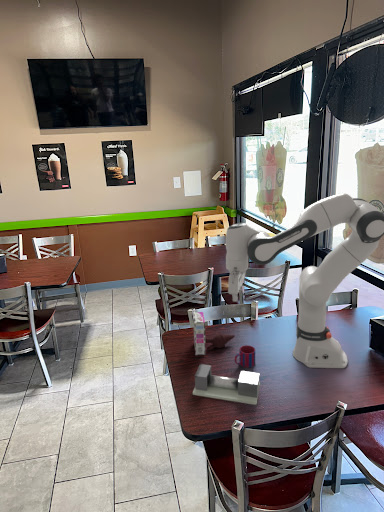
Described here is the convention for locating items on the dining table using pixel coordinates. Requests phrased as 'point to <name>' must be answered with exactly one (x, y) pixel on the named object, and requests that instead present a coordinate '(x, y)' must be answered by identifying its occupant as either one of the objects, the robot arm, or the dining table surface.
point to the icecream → (218, 341)
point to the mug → (246, 356)
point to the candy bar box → (199, 333)
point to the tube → (222, 382)
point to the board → (225, 394)
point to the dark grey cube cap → (248, 384)
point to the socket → (202, 377)
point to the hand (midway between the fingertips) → (237, 296)
